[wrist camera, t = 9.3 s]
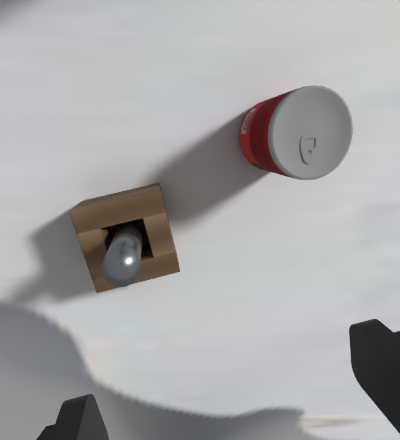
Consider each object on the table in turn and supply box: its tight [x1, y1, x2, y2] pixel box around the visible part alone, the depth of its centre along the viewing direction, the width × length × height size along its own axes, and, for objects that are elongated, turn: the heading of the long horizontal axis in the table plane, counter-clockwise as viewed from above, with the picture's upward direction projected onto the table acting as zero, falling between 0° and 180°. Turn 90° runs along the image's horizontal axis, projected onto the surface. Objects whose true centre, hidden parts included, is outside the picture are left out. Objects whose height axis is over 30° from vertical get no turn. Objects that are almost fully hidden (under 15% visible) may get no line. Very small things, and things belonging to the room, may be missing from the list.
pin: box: [101, 219, 144, 287], centre depth 31 cm, size 3×3×12 cm
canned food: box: [239, 86, 352, 180], centre depth 32 cm, size 8×8×11 cm
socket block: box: [70, 183, 180, 293], centre depth 35 cm, size 9×9×6 cm
